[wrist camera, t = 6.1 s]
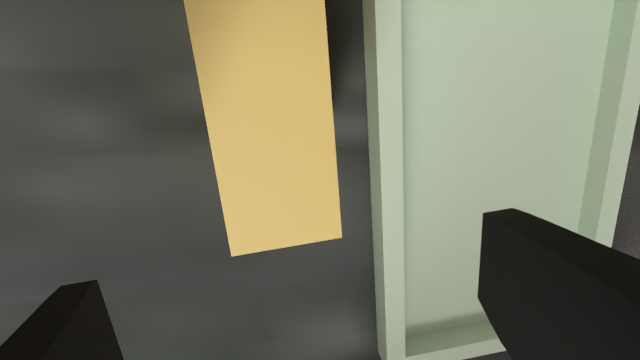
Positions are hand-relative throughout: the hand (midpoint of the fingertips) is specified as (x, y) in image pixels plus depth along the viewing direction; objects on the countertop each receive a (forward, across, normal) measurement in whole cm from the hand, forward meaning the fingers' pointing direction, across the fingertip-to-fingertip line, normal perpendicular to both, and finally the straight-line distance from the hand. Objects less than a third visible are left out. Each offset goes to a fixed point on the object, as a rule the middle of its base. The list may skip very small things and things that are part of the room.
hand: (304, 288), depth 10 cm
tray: (+9, -8, +2) cm, 13 cm away
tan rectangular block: (+10, 0, -4) cm, 10 cm away
